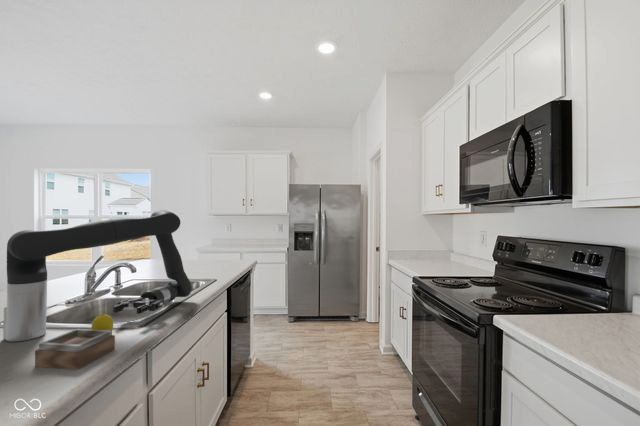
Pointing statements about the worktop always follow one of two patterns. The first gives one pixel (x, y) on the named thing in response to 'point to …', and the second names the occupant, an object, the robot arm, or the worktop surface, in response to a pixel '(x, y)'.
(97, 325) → the lemon
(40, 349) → the square wooden box
